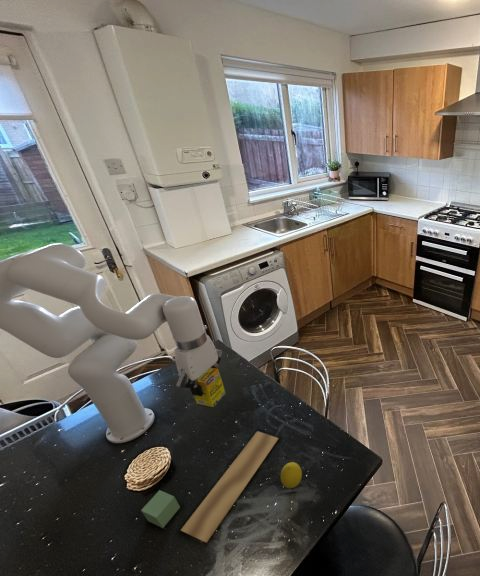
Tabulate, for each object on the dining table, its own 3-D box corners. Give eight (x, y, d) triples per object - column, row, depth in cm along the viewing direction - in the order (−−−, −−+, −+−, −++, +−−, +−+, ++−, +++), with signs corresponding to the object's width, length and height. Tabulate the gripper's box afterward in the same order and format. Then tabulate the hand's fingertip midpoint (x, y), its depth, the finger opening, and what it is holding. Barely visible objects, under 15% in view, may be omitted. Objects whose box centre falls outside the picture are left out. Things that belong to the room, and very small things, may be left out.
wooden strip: (180, 530, 76) (180, 530, 76) (257, 431, 100) (257, 431, 100) (206, 543, 74) (206, 542, 74) (278, 438, 98) (278, 438, 98)
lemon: (285, 498, 83) (281, 480, 79) (281, 479, 87) (276, 462, 83) (305, 488, 85) (302, 471, 81) (300, 470, 89) (297, 453, 86)
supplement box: (214, 409, 94) (205, 382, 88) (196, 405, 95) (186, 379, 89) (226, 394, 99) (218, 368, 93) (210, 390, 100) (201, 365, 94)
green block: (147, 521, 78) (140, 510, 75) (165, 500, 82) (159, 490, 79) (163, 528, 76) (156, 517, 74) (180, 507, 81) (174, 496, 78)
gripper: (205, 319, 93) (218, 364, 102) (151, 356, 79) (172, 404, 88) (225, 324, 91) (237, 369, 100) (174, 362, 77) (193, 412, 86)
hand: (207, 385), depth 94 cm, fingers closed on supplement box, 6 cm apart
